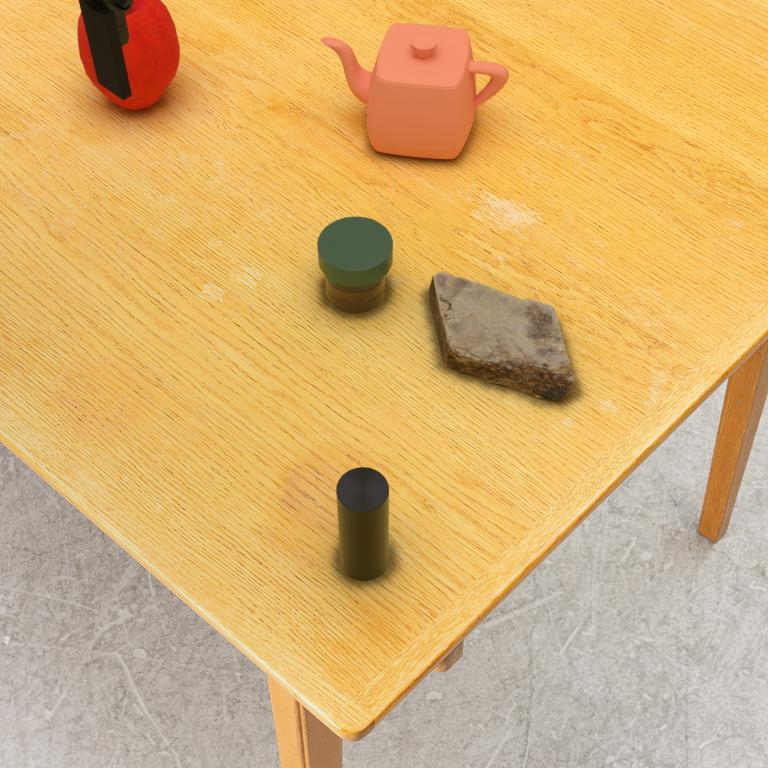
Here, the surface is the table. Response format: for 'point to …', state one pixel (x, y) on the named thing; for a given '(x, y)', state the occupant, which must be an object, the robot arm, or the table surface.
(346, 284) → the green chip
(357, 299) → the chip pile
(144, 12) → the apple
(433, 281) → the stone
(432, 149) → the teapot
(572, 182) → the table surface
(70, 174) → the table surface
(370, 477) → the black cylinder
